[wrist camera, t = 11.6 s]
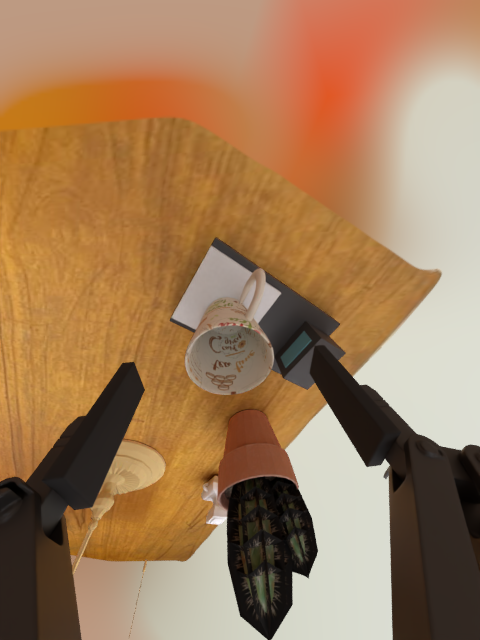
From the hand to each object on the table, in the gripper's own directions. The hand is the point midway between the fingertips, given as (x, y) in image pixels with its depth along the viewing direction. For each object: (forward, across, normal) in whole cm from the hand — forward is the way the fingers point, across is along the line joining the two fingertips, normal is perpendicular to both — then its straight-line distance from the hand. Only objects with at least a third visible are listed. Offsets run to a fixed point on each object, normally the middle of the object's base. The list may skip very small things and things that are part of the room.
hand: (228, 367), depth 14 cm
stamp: (+16, -6, -55) cm, 57 cm away
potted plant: (+16, +3, -31) cm, 35 cm away
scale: (+16, +5, -4) cm, 17 cm away
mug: (+13, +1, 0) cm, 13 cm away
